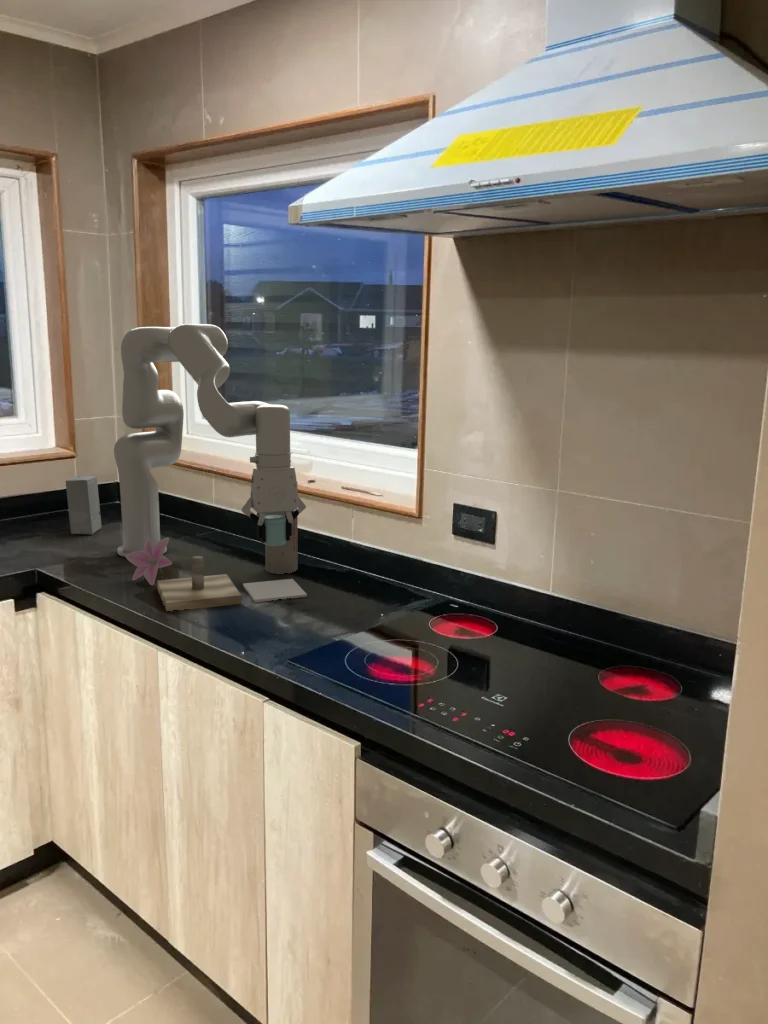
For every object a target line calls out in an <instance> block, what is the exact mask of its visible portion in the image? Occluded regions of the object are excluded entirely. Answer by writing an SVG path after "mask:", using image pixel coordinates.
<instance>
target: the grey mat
mask: <svg viewBox="0 0 768 1024" xmlns="http://www.w3.org/2000/svg"><path fill="white" fill-rule="evenodd" d="M242 587H243V589H245V591H246V593H247V594H248V595H249V597H250V598H251V600H252V601H253V602H254V603H260V602H261V603H262V602H269V601H270V602H271V601H272V600H273V601H279V600H278V599H282V600H289V598H291V599H298V598H300V597H301V598H306V597H308V594H307V592H306V591H304V589H303V588H301V586H300V585H299V584H298V583H297V582H296V581H295V580H294V579H293V578H287V579H286V578H285V579H276V580H266V581H256V582H246V583H245V582H244V583H242ZM287 598H288V599H287Z"/></svg>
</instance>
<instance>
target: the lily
mask: <svg viewBox="0 0 768 1024" xmlns="http://www.w3.org/2000/svg"><path fill="white" fill-rule="evenodd" d="M169 541H170V537H164V538H163V539H160V541H159V542H157V543H156V544H155V545H153V543H152V542H151V540H150V539H149V538H148V537H147V539H146V541H145V544H144V549H143V550H140V551H135V552H132V553H129V554H127V555H126V557H125V558H126V560H128V562H130V563H131V564H133V566H136V569H135V571H134V573H133V575H132V579H131V580H132V581H135V580H137V579H140V578H141V577H143V576H144V578H145V579H146V581H147V583H149V586H154V585H155V582H156V578H157V575H158V570H159V571H160V573H161V574H162V575H164V572H163V571H162V568H165V567H169V566H172V564H173V562H172V560H170V559H169V558H167V557H166V556H164V554H165V553H164V551H165V548H166V546H168V544H169Z"/></svg>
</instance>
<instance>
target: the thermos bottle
mask: <svg viewBox="0 0 768 1024" xmlns="http://www.w3.org/2000/svg"><path fill="white" fill-rule="evenodd" d="M291 461H292V460H291V459H290V464H291V463H292V462H291ZM291 512H292V511H291ZM268 515H282V516H284V513H283V512H277V513H266V514H265V516H268ZM298 516H299V515H298ZM298 516H297V517H296V518H295V519H294V521H293V523H292V536H290V540H289V541H287V540H286V544H284V545H282V546H266V545H265V544H264V545H265V547H264V549H265V553H264V554H265V558H264V559H265V560H264V561H265V571H266V572H268V573H270V574H274V573H275V575H285V574H284V573H288V574H292V572H293V573H295V572H297V571H298V567H299V566H298V562H299V561H298V559H299V558H298V557H299V555H298V545H299V544H298V542H299V541H298V536H299V534H298V530H299V529H298V528H299V527H298V519H299V518H298ZM296 570H297V571H296ZM294 571H295V572H294Z"/></svg>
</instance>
